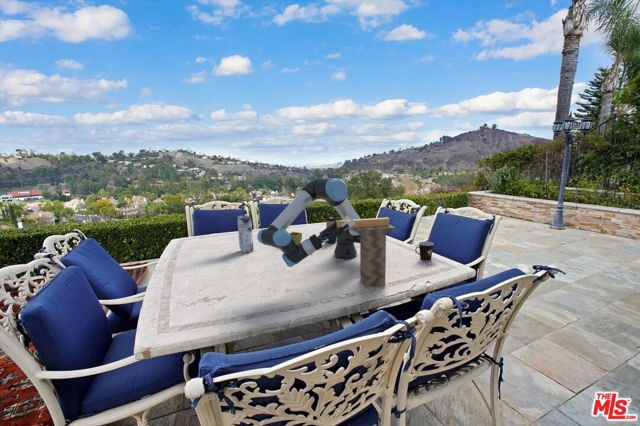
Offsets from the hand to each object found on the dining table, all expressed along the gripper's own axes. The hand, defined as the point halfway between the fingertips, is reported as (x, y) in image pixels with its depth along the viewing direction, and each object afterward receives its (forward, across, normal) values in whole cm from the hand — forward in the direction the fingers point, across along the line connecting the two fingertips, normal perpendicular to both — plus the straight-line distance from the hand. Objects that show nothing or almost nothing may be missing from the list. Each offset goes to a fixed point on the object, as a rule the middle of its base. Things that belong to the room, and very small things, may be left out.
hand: (351, 219), depth 140 cm
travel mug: (-14, -77, -31) cm, 84 cm away
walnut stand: (-8, 0, -35) cm, 36 cm away
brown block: (+3, 0, -6) cm, 7 cm away
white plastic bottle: (-69, -70, 0) cm, 98 cm away
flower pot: (-38, -77, -17) cm, 88 cm away
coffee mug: (+29, -28, -56) cm, 69 cm away
